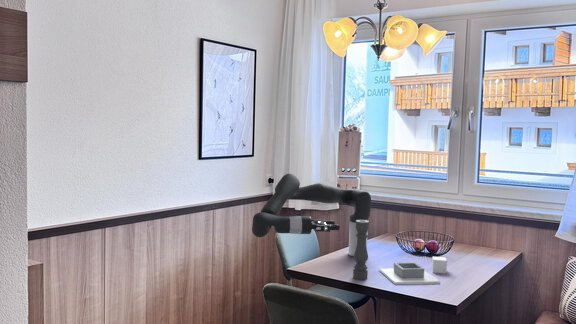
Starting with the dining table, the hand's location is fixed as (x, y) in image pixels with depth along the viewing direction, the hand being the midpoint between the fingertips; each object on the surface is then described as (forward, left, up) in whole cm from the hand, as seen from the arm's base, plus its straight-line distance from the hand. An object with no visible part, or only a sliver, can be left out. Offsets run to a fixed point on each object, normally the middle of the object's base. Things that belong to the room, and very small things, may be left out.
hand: (336, 225), depth 223 cm
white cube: (-8, +51, -23) cm, 57 cm away
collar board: (0, +33, -23) cm, 40 cm away
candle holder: (0, +11, -23) cm, 26 cm away
